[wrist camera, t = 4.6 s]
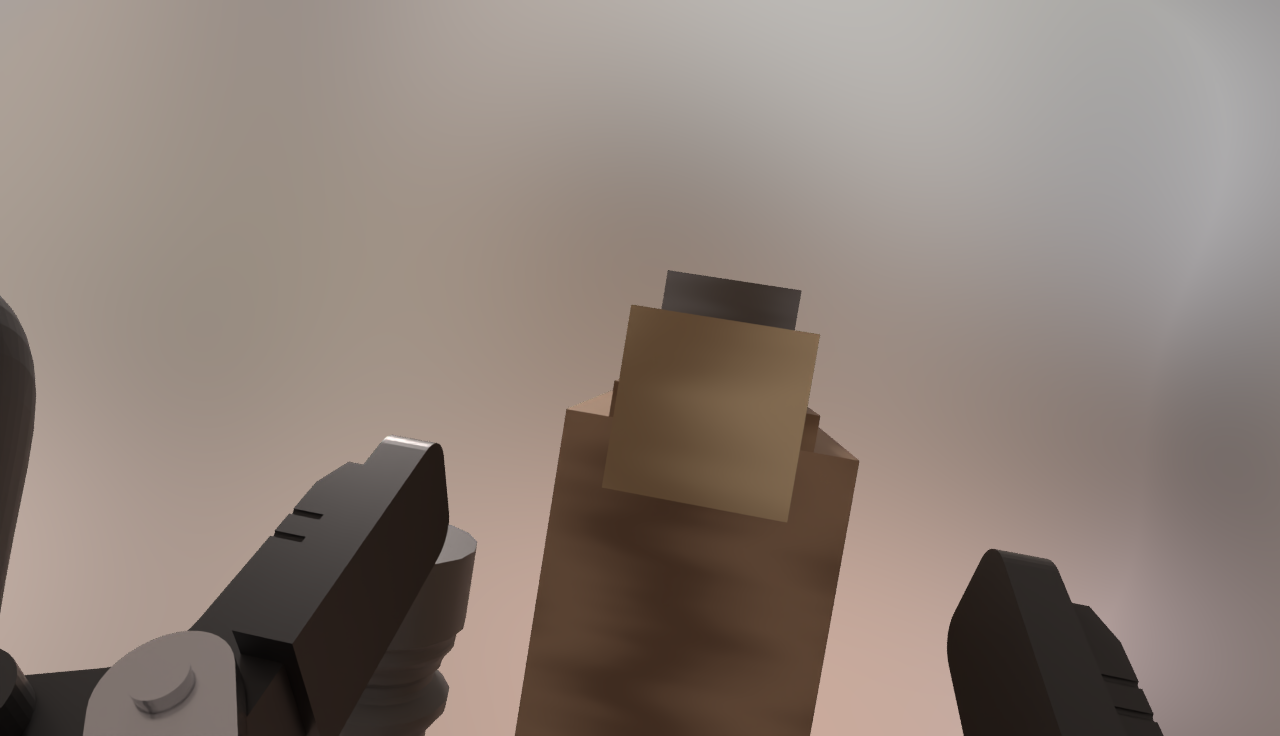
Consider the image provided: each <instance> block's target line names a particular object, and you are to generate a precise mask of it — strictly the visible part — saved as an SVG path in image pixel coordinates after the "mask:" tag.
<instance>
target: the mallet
mask: <svg viewBox="0 0 1280 736" xmlns="http://www.w3.org/2000/svg"><path fill="white" fill-rule="evenodd" d="M800 296H801V290H793V289H788V288H781V287H775V286H768V285H762V284H755V283H748V282H742V281H735V280H729V279H722V278H715V277H708V276H702V275H696V274H689V273H682V272H676V271H669V270H668V273H667V279H666V286H665V292H664V298H663V304H662V309H656V308H650V307H643V306H637V305H631V310H630V316H629V322H628V329H627V335H626V341H625V348H624V354H623V360H622V366H621V372H620V378H619V384H618V390H617V397H616V403H615V409H614V415H613V421H612V428H611V434H610V440H609V446H608V452H607V458H606V465H605V471H604V477H603V483H602V488H607V489H613V490H618V491H623V492H628V493H634V494H639V495H644V496H649V497H655V498H660V499H665V500H671V501H676V502H681V503H686V504H692V505H697V506H702V507H707V508H713V509H718V510H723V511H729V512H734V513H739V514H744V515H750V516H755V517H760V518H765V519H771V520H776V521H781V522H787V521H788V515H789V509H790V503H791V498H792V492H793V486H794V481H795V475H796V469H797V463H798V458H799V452H800V446H801V441H802V435H803V429H804V424H805V418H806V412H807V406H808V401H809V395H810V389H811V383H812V378H813V372H814V366H815V360H816V355H817V349H818V343H819V338H820V334H814V333H807V332H801V331H795V325H796V318H797V313H798V307H799V301H800Z"/></svg>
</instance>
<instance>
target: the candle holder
mask: <svg viewBox="0 0 1280 736" xmlns="http://www.w3.org/2000/svg"><path fill="white" fill-rule="evenodd" d="M476 546H477V541H476V540H475V539H474V538H473V537H472V536H471V535H470V534H469V533H468V532H465V531H463V530H461V529H459V528H457V527H454V526H452V525H448V531H447V536H446V540H445V543H444V546H443V549H442V551H441V553H440V555H439V557H438V559H437V561H436V563H435V565H434V566H433V568H432V570H431V572H430V574H429V575H428V577H427V579H426V581H425V582H424V584H423V586H422V588H421V590H420V591H419V593H418V595H417V597H416V599H415V600H414V602H413V604H412V606H411V608H410V609H409V611H408V613H407V615H406V616H405V618H404V620H403V622H402V624H401V625H400V627H399V629H398V631H397V633H396V634H395V636H394V638H393V640H392V642H391V643H390V645H389V647H388V649H387V650H386V652H385V654H384V656H383V658H382V659H381V661H380V663H379V665H378V667H377V668H376V670H375V672H374V674H373V676H372V677H371V679H370V681H369V683H368V684H367V686H366V688H365V690H364V692H363V693H362V695H361V697H360V699H359V701H358V702H357V704H356V706H355V708H354V710H353V711H352V713H351V715H350V717H349V718H348V720H347V722H346V724H345V726H344V727H343V729H342V731H341V733H340V735H339V736H425V730H426V729H427V728H428V727H429V726H430V725H431V724H432V723H433V722H434V721H435V720H436V719H437V718H438V717H439V716H440V715H441V714H442V713H443V711H444V708H445V705H446V701H447V696H448V691H449V686H448V684H447V682H446V680H445V679H444V677H443V675H442V674H441V673H440V672H439V671H438V670H437V669H438V668H439V667H440V664H441V661H442V659H443V658H444V656H445V655H446V654H447V653H448V652H449V651H450V650H451V649H452V647H453V646H454V641H455V637H456V634H457V633H458V632H459V631H461V630H462V629H463V626H464V622H465V618H466V612H467V605H468V599H469V591H470V586H471V579H472V573H473V566H474V560H475V553H476Z"/></svg>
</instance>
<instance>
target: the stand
mask: <svg viewBox="0 0 1280 736" xmlns="http://www.w3.org/2000/svg"><path fill="white" fill-rule="evenodd" d="M618 384H619V379H618V380H615V381H614V388H613V391H609V392H607V393H604V394H602V395H599V396H597V397H595V398H592V399H590V400H587V401H585V402H582V403H580V404H578V405H575V406H573V407H570V408H568V409H566V416H565V422H564V429H563V435H562V441H561V447H560V454H559V460H558V467H557V473H556V479H555V485H554V492H553V498H552V504H551V510H550V517H549V523H548V529H547V536H546V542H545V548H544V555H543V561H542V567H541V574H540V580H539V587H538V593H537V599H536V605H535V612H534V618H533V624H532V630H531V637H530V643H529V650H528V656H527V663H526V669H525V675H524V681H523V687H522V694H521V700H520V707H519V713H518V720H517V726H516V732H515V736H810V732H811V727H812V722H813V716H814V710H815V705H816V699H817V694H818V688H819V683H820V677H821V671H822V666H823V660H824V655H825V649H826V644H827V638H828V633H829V627H830V621H831V616H832V610H833V605H834V599H835V594H836V588H837V582H838V577H839V571H840V566H841V560H842V555H843V549H844V544H845V538H846V532H847V527H848V521H849V516H850V510H851V505H852V498H853V493H854V487H855V482H856V477H857V470H858V466H859V460H858V459H857V458H855V457H854V456H853V455H852V454H850V453H849V452H848V451H847V450H846V449H844V448H843V447H842V446H841V445H840V444H838V443H837V442H836V441H835V440H833V439H832V438H831V437H830V436H829V435H827V434H826V433H825V432H824V431H823V430H821V429H820V428H819V427H818V426H819V420H820V415H818V414H817V413H815V412H814V411H813V410H811V409H810V408H808V407H807V412H806V418H805V424H804V429H803V435H802V441H801V446H800V452H799V458H798V463H797V469H796V475H795V481H794V486H793V492H792V498H791V503H790V509H789V515H788V521H787V522H781V521H776V520H771V519H765V518H760V517H755V516H750V515H744V514H739V513H734V512H729V511H723V510H718V509H713V508H707V507H702V506H697V505H692V504H686V503H681V502H676V501H671V500H665V499H660V498H655V497H649V496H644V495H639V494H634V493H628V492H623V491H618V490H613V489H607V488H602V483H603V477H604V471H605V465H606V458H607V452H608V446H609V440H610V434H611V428H612V421H613V415H614V409H615V403H616V397H617V390H618Z"/></svg>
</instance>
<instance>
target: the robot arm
mask: <svg viewBox="0 0 1280 736" xmlns="http://www.w3.org/2000/svg"><path fill="white" fill-rule="evenodd" d="M35 403H36V388H35V373H34V364H33V360H32V355H31V351H30V347H29V344H28V340H27V337H26V334H25V332H24V330H23V328H22V326H21V324H20V322H19V320H18V318H17V316H16V315H15V313H14V312H13V310H12V309H11V308H10V306H9V305H8V304H7V303H6V302H5V301H4V299H3V298H2V297H1V296H0V610H1V604H2V598H3V592H4V586H5V580H6V575H7V569H8V564H9V559H10V553H11V548H12V543H13V537H14V532H15V527H16V522H17V517H18V512H19V507H20V502H21V497H22V493H23V487H24V483H25V477H26V473H27V468H28V461H29V456H30V450H31V443H32V437H33V431H34V430H33V429H34V418H35ZM448 525H449V510H448V498H447V487H446V476H445V465H444V455H443V450H442V447H441V445H440V444H437V443H433V442H428V441H422V440H417V439H412V438H406V437H401V436H395V435H390V436H387V437H386V438H385V439H384V440H383V441H382V442H381V443H380V444H379V446H378V447H377V448H376V449H375V451H374V452H373V453H372V454H371V456H370V457H369V458H368V459H367V461H366V462H365V463H364V464H358V463H352V462H347V463H346V464H344V465H343V466H341V467H339V468H338V469H336V470H335V471H333V472H331V473H330V474H328V475H327V476H325V477H323V478H322V479H320V480H319V481H317V482H316V483H315V484H314V486H312V488H311V489H310V490H309V491H308V492H307V494H306V495H305V496H304V497H303V498H302V499H301V501H300V502H299V503H298V504H297V505H296V506H295V508H294V511H293V513H292V514H289V515H288V516H287V517H286V518H285V519H284V520H283V522H282V523H281V524H280V525H279V526H278V527H277V529H276V530H275V534H274V536H270V537H269V538H268V539H267V541H265V543H264V544H263V545H262V546H261V548H260V549H259V550H258V551H257V552H256V553H255V555H254V556H253V557H252V558H251V559H250V560H249V561H248V563H247V564H246V565H245V566H244V567H243V568H242V570H241V571H240V572H239V573H238V574H237V575H236V577H235V578H234V579H233V580H232V581H231V583H230V584H229V585H228V586H227V587H226V588H225V589H224V591H223V592H222V593H221V594H220V596H219V597H218V598H217V599H216V600H215V601H214V602H213V604H212V605H211V606H210V607H209V608H208V609H207V611H206V612H205V613H204V614H203V615H202V616H201V618H200V619H199V620H198V621H197V622H196V623H195V624H194V625H193V626H192V627H191V628H190V629H189V630H188V631H183V632H176V633H172V634H168V635H165V636H162V637H159V638H156V639H153V640H151V641H149V642H147V643H145V644H143V645H141V646H139V647H138V648H136V649H134V650H133V651H131V652H129V653H128V654H127V655H125V656H124V657H123V658H121V659H120V660H119V661H118V662H117V663H115V664H114V665H113V666H112V667H107V668H100V669H89V670H78V671H67V672H56V673H46V674H34V675H24V674H23V672H22V671H21V669H20V668H19V666H18V665H17V663H16V662H15V660H14V659H13V658H12V657H11V656H10V654H8V653H7V652H5V651H3V650H2V649H0V736H339V735H340V733H341V731H342V729H343V727H344V726H345V724H346V722H347V720H348V718H349V717H350V715H351V713H352V711H353V710H354V708H355V706H356V704H357V702H358V701H359V699H360V697H361V695H362V693H363V692H364V690H365V688H366V686H367V684H368V683H369V681H370V679H371V677H372V676H373V674H374V672H375V670H376V668H377V667H378V665H379V663H380V661H381V659H382V658H383V656H384V654H385V652H386V650H387V649H388V647H389V645H390V643H391V642H392V640H393V638H394V636H395V634H396V633H397V631H398V629H399V627H400V625H401V624H402V622H403V620H404V618H405V616H406V615H407V613H408V611H409V609H410V608H411V606H412V604H413V602H414V600H415V599H416V597H417V595H418V593H419V591H420V590H421V588H422V586H423V584H424V582H425V581H426V579H427V577H428V575H429V574H430V572H431V570H432V568H433V566H434V565H435V563H436V561H437V559H438V557H439V555H440V553H441V551H442V549H443V546H444V543H445V540H446V536H447V531H448ZM947 655H948V663H949V668H950V673H951V678H952V682H953V687H954V692H955V696H956V701H957V706H958V710H959V715H960V720H961V725H962V729H963V734H964V736H1163V734H1162V732H1161V729H1160V727H1159V725H1158V723H1157V722H1154V721H1153V712H1152V710H1151V707H1150V705H1149V703H1148V701H1147V699H1146V697H1145V694H1144V692H1143V690H1142V689H1139V688H1138V679H1137V677H1136V675H1135V673H1134V670H1133V668H1132V666H1131V664H1130V662H1129V660H1128V657H1127V655H1126V653H1125V651H1124V649H1123V647H1122V644H1121V642H1120V641H1119V640H1118V639H1117V638H1116V637H1115V636H1114V634H1113V633H1112V632H1111V631H1110V630H1109V629H1108V627H1107V626H1106V625H1105V624H1104V623H1103V622H1102V621H1101V619H1100V618H1099V617H1098V616H1097V615H1096V614H1095V612H1094V611H1093V610H1092V609H1091V608H1090V607H1089V606H1084V605H1080V604H1075V603H1072V602H1071V600H1070V598H1069V595H1068V593H1067V590H1066V588H1065V585H1064V583H1063V581H1062V579H1061V576H1060V573H1059V571H1058V569H1057V567H1056V566H1055V564H1054V563H1053V562H1052V561H1051V560H1048V559H1044V558H1039V557H1034V556H1028V555H1023V554H1018V553H1012V552H1007V551H1001V550H996V549H990V550H988V551H987V552H986V553H985V554H984V556H983V557H982V559H981V561H980V563H979V565H978V567H977V569H976V571H975V573H974V575H973V577H972V579H971V581H970V583H969V585H968V587H967V589H966V591H965V593H964V595H963V597H962V599H961V600H960V602H959V605H958V606H957V608H956V610H955V612H954V614H953V617H952V619H951V622H950V626H949V631H948V640H947Z"/></svg>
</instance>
